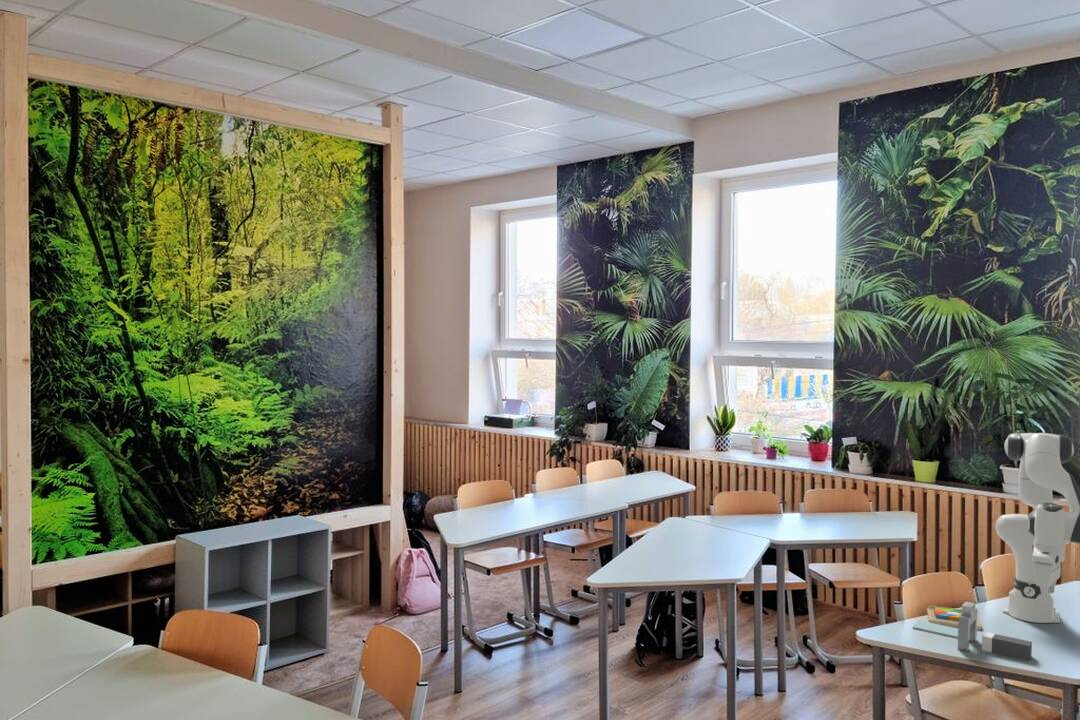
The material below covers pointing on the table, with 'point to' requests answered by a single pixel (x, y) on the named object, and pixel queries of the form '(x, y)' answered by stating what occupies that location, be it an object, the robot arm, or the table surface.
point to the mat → (936, 629)
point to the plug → (1007, 646)
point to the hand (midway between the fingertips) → (1047, 595)
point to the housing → (967, 626)
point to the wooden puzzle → (946, 616)
